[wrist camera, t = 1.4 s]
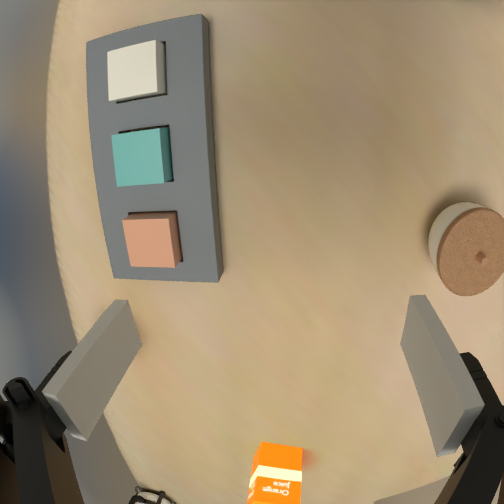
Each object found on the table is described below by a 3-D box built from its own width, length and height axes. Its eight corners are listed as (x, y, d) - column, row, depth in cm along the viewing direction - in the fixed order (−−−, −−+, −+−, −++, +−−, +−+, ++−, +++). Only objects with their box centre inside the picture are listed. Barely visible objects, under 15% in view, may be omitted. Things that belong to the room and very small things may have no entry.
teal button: (123, 133, 34) (111, 135, 32) (169, 127, 34) (159, 128, 31) (128, 181, 37) (117, 186, 34) (173, 177, 36) (164, 183, 33)
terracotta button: (133, 212, 38) (122, 219, 36) (177, 210, 38) (168, 218, 35) (140, 256, 41) (130, 266, 38) (182, 257, 40) (175, 267, 37)
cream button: (119, 55, 30) (107, 51, 28) (165, 44, 30) (155, 39, 27) (121, 101, 33) (108, 101, 30) (167, 93, 32) (157, 91, 29)
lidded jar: (462, 175, 33) (501, 194, 25) (492, 237, 36) (527, 266, 27) (402, 225, 37) (429, 256, 29) (437, 282, 40) (464, 320, 31)
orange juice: (291, 463, 61) (286, 539, 42) (253, 457, 61) (241, 534, 43) (302, 447, 57) (299, 531, 39) (261, 441, 58) (249, 525, 39)
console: (98, 45, 32) (86, 42, 29) (208, 20, 30) (201, 13, 27) (123, 268, 44) (114, 278, 42) (223, 271, 43) (218, 282, 40)
